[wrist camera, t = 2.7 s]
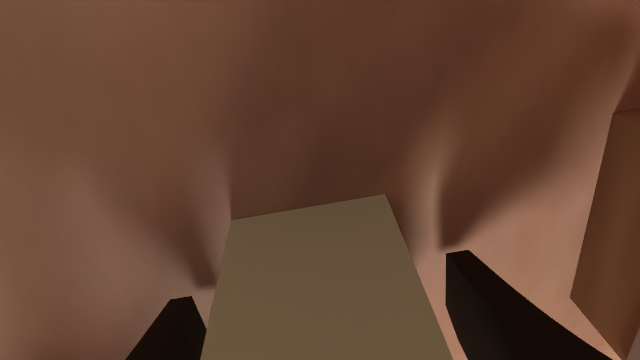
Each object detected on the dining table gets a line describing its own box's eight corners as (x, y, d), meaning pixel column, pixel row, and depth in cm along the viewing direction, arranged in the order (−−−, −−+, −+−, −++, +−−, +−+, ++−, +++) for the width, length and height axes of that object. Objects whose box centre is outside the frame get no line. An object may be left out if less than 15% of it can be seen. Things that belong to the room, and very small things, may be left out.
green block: (266, 323, 13) (251, 552, 8) (231, 219, 11) (181, 442, 6) (394, 302, 13) (461, 520, 8) (385, 193, 11) (468, 397, 6)
